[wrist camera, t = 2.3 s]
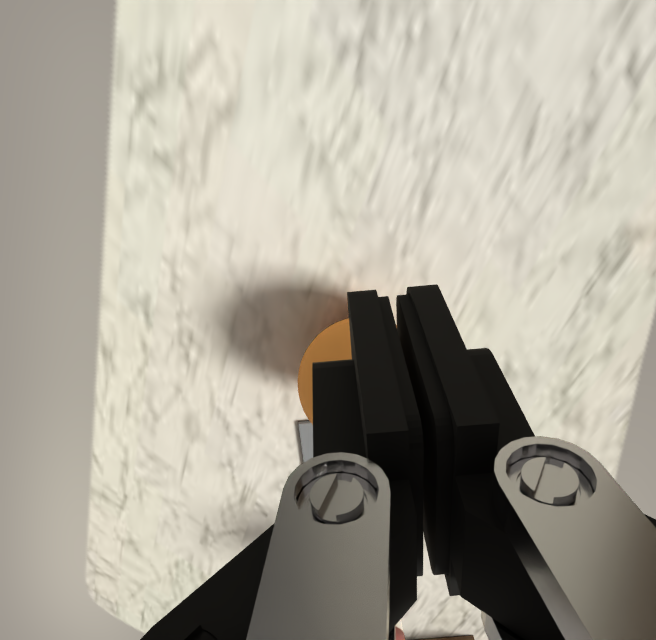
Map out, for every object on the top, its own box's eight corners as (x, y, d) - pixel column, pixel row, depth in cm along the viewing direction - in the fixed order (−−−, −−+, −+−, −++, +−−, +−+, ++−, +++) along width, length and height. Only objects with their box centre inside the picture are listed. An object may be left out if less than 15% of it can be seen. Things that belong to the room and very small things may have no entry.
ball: (292, 299, 27) (288, 372, 22) (418, 288, 27) (444, 359, 22) (304, 399, 30) (304, 484, 25) (418, 389, 30) (441, 473, 25)
